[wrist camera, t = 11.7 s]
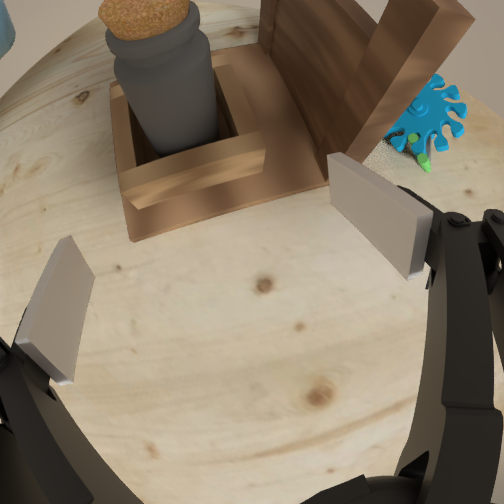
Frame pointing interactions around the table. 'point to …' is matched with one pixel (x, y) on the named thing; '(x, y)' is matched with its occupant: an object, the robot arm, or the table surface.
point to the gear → (428, 121)
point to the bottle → (164, 70)
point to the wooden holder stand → (287, 107)
